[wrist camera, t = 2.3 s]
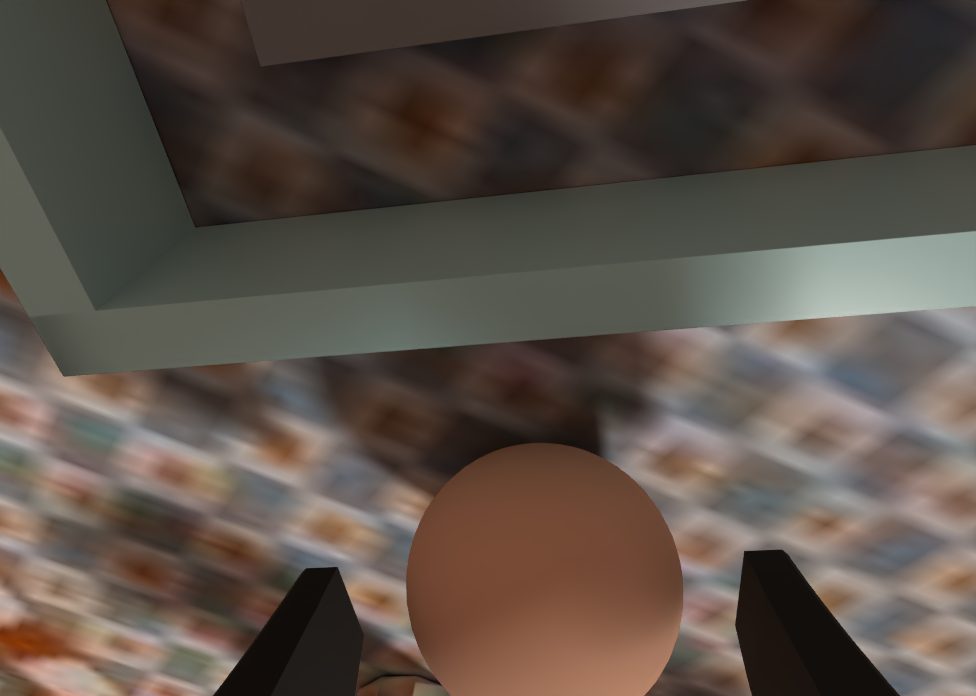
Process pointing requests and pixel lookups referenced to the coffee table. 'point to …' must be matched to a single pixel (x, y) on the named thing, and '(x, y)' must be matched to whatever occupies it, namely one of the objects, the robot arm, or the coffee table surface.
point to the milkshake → (402, 687)
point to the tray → (416, 22)
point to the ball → (544, 578)
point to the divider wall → (425, 238)
